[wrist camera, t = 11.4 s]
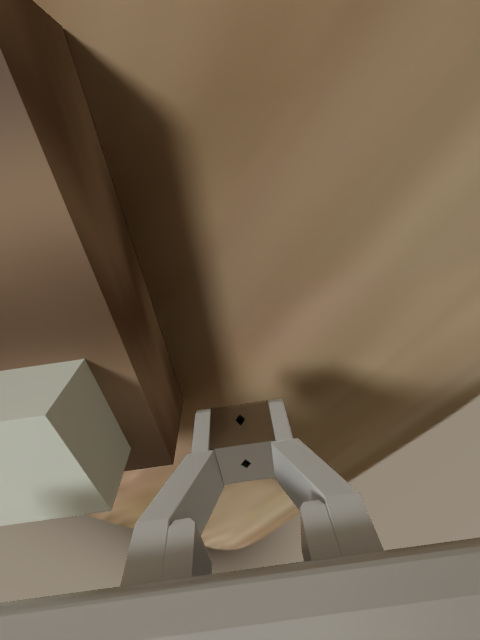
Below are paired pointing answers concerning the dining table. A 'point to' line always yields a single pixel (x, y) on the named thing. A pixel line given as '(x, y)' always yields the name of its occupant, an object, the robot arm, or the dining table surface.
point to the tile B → (57, 444)
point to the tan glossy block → (72, 243)
